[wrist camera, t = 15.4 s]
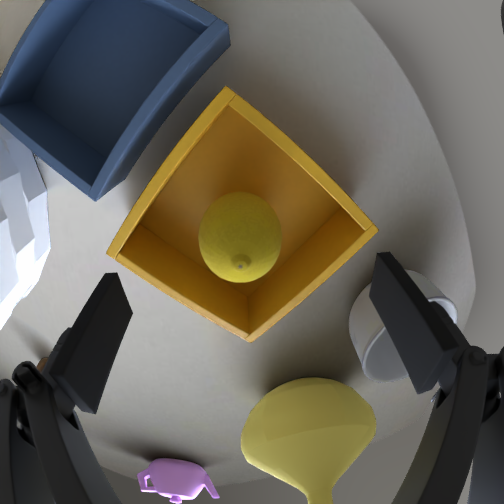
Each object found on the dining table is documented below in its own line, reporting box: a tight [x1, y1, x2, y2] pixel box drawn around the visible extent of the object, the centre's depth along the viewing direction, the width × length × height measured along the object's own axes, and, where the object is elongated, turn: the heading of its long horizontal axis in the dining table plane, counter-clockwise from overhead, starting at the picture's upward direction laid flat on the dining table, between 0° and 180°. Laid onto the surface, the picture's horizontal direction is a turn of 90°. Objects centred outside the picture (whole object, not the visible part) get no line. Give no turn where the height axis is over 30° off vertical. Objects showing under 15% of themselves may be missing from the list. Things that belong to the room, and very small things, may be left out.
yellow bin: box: [106, 86, 379, 343], centre depth 20 cm, size 14×14×6 cm
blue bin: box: [0, 0, 231, 201], centre depth 14 cm, size 14×14×6 cm
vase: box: [241, 377, 376, 504], centre depth 29 cm, size 18×18×19 cm
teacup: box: [349, 270, 458, 383], centre depth 25 cm, size 14×11×8 cm
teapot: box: [137, 458, 219, 503], centre depth 50 cm, size 22×16×12 cm
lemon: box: [198, 192, 282, 282], centre depth 19 cm, size 6×6×8 cm
